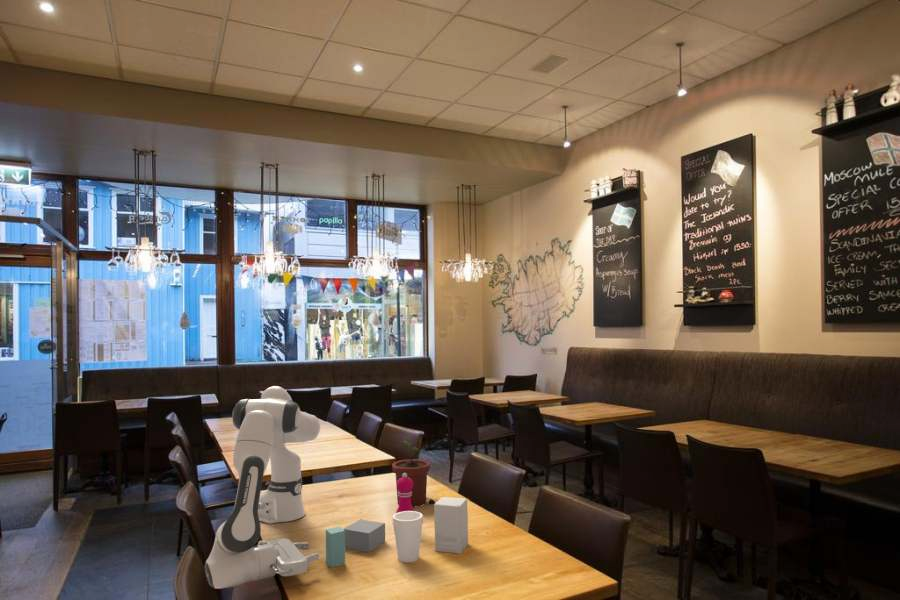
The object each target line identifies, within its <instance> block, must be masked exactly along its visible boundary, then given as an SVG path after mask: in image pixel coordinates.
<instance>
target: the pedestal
mask: <svg viewBox="0 0 900 600" xmlns="http://www.w3.org/2000/svg"><path fill="white" fill-rule="evenodd" d="M342 529H343V530H345V549H350V550H355V551H360V552H365V553H370V552H371V551H373V550H374V549H376V548H377V547H379V546H380V545H382V544H384V543H385V542H386V523H385V522H380V521H374V520H368V519H367V520H366V519H359V520H357V521H355V522H353V523H351V524H349V525H348V526H346V527H344V528H342Z"/></svg>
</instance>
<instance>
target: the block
mask: <svg viewBox="0 0 900 600" xmlns="http://www.w3.org/2000/svg"><path fill="white" fill-rule="evenodd" d="M343 529H344V528H342V527H341V526H336V527H331V528H330V527H329V528H325V563H326V564H327V565H328V566H329V567H330V568H335V567H338V566H337V565H339V566H342V565H341V564H343V565H346V548H345V530H343ZM334 566H335V567H334Z"/></svg>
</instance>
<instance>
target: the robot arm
mask: <svg viewBox="0 0 900 600" xmlns="http://www.w3.org/2000/svg"><path fill="white" fill-rule="evenodd" d="M260 395H261V397H260V398H256V399H255V398H254V399H251V398H244V399H240V400H239V401H238V402H236V403H235V406H234V407H233V409H232V415H231V416H232V424H233V426H234V427H235V429H237V430H238V433H237V436H236V440H235V444H234V449H233V455H232V456H233V458H232V466H233V468H234V470H235V471H236V472H237V475H238V486H237V492H236V497H235V501H234V502H235V503H234V507H233V510H232V512H231V513H230V515H229V517H228V518H227V519H226V520H225V521H224V522H222V523H221V524H220V526H219V527H218V529H217V530H216V533H215V538H214V541H213V542H214V543H213V546H212V549H211V552H210V553H209V556H208V558H207V559H206V561H205V563H204V574H205V577H206V581H207V582H208V585H210V587H212V588H214V589H218V590H219V589H221V590H222V589H228V588H233V587H236V586H237V587H238V586H241V585H243V584H245V583H247V582H252V581H253V582H258V581H261V580H265V579H268V578H270V579H271V578H273V577H275V576H276V575H280V576H281V577H291V576H292V577H293V576H296V575H301V574H302V575H303V574H305V573H306V572H308V570H309V569H308V568H309V565H310V564H312V563H314V562H316V561H319V560H320V553H318V552H317V551H316V552H312V553H311V554H310V555H304V554H303V553H302V552H301V550H302V551H306V550H308V549H309V548H310V544H309V543H308V542H307V541H304V542H292V541H291V540H290V539H289V538H283V537H282V538H276V539H270V540H268V541H266V540H260V536H261V532H262V526H261V522H263V523H266V524H277V523H285V522H291V521H296V520H298V519H301V518H303V517H304V516H306V511H305V507H304V506H305V505H304V502H303V494H302V488H303V478H302V477H303V476H302V460H301V457H300V456H299V455H298V453H297V452H294V451H292V450H290V449H288V448H287V446H286V444H296V443H307V442H310V441H314V440H316V439H317V437H318V436H319V434H320V431H321V423H320V420H319V418H317V416H316V415H314V414H310V413H307V412H304V411H301V409H300V405H298V403H297V402H296V401H293V399H292V397H291V395H290V394H289V393H288V392H287V390H286V389H285V388H284V387H282V386H280V385H279V386H278V385H277V386H276V385H273V386H270V387H267V388H266V389H264V391H263V392H262V394H260ZM269 463H270V472H271V473H270V474H271V478H270V480H267V481H266V483H265V485H268V486H267V489H266V490H265V491H263V492H262V493H261V490H262V485H263V484H262V483H263V479H264V475H265V472H266V470H267V468H268V464H269ZM258 540H260V541H258ZM257 543H258V544H257ZM256 544H257V546H255V545H256ZM254 546H255V547H254Z"/></svg>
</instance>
